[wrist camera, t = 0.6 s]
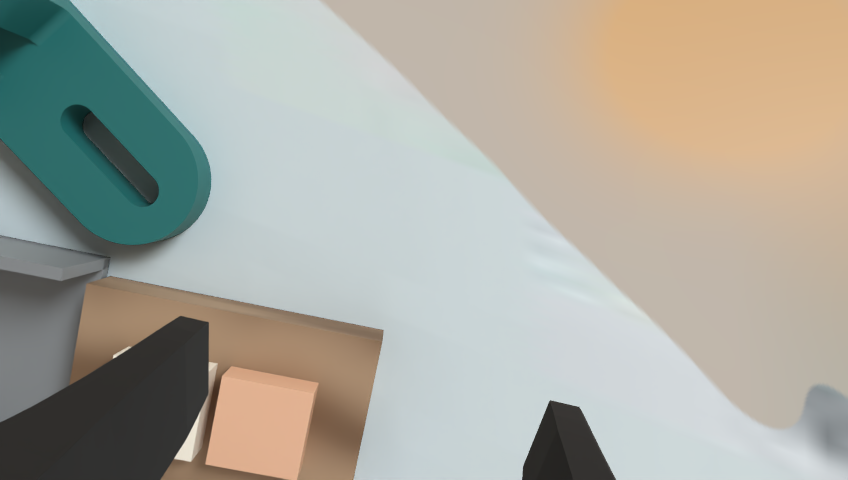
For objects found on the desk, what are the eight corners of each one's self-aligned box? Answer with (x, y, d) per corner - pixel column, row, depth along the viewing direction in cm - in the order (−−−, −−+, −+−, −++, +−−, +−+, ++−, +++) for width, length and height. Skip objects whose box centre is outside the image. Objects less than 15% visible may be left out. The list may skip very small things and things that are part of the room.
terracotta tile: (302, 466, 31) (296, 481, 29) (215, 450, 31) (205, 464, 29) (318, 382, 30) (314, 393, 29) (231, 366, 30) (222, 376, 29)
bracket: (-99, 8, 31) (-269, -54, 23) (-3, -80, 31) (-142, -173, 23) (146, 266, 32) (65, 291, 25) (238, 184, 32) (186, 182, 24)
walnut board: (347, 500, 34) (343, 524, 31) (80, 452, 33) (54, 473, 30) (383, 330, 33) (382, 341, 30) (110, 276, 32) (86, 283, 30)
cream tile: (201, 447, 31) (190, 461, 29) (113, 431, 30) (97, 444, 29) (217, 363, 30) (207, 373, 29) (128, 346, 30) (113, 355, 28)
